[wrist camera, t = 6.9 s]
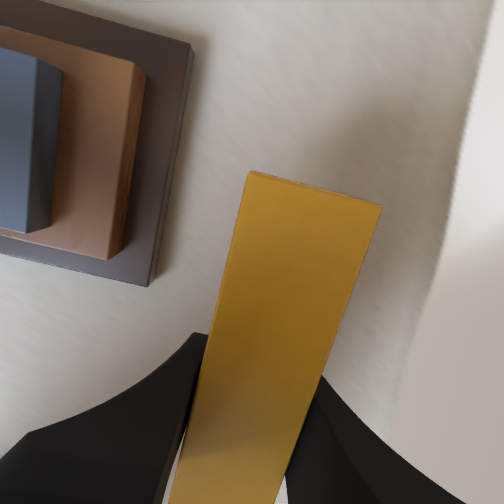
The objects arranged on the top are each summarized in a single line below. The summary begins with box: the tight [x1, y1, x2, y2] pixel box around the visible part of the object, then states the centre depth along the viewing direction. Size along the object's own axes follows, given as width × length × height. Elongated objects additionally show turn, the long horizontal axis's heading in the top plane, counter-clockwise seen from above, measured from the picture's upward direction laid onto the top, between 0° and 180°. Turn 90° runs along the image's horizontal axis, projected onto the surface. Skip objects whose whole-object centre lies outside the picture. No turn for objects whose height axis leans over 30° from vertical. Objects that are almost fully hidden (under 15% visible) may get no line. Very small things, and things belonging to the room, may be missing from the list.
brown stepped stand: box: [0, 0, 194, 287], centre depth 10 cm, size 9×9×3 cm
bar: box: [168, 170, 382, 504], centre depth 10 cm, size 14×3×3 cm, turn 166°
